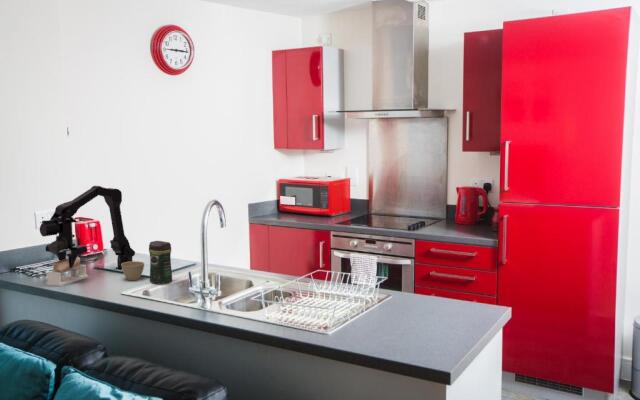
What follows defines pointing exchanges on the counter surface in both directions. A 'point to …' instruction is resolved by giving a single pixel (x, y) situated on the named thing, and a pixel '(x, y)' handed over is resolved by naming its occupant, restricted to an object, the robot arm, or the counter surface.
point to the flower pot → (132, 269)
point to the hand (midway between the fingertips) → (67, 267)
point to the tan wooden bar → (65, 265)
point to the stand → (61, 280)
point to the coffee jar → (160, 262)
